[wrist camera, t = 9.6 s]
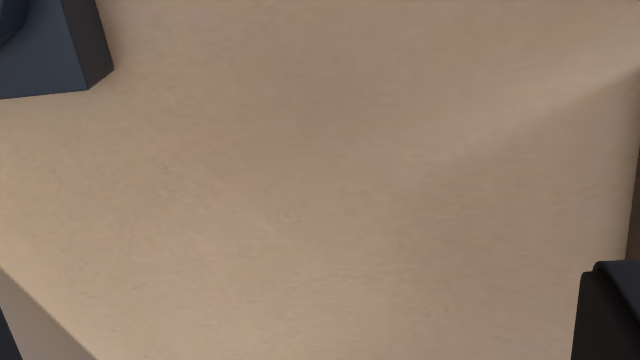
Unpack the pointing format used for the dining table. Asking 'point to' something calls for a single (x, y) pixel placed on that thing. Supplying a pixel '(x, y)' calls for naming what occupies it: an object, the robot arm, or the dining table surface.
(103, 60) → the button box
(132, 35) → the dining table surface
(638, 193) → the dial panel
